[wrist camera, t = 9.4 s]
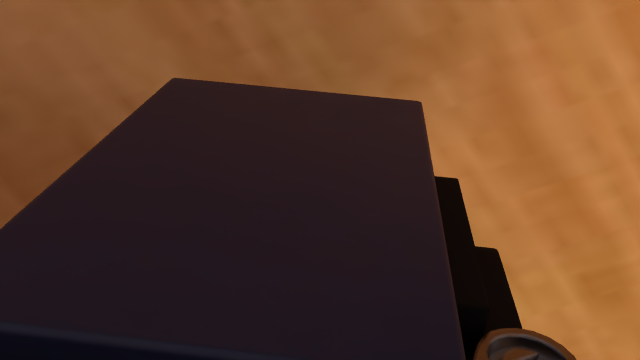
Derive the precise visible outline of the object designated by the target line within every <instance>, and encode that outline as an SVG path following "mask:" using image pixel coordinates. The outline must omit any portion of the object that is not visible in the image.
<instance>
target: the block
mask: <svg viewBox="0 0 640 360" xmlns="http://www.w3.org/2000/svg"><path fill="white" fill-rule="evenodd" d="M0 360H466V358H465V352H464V346H463V341H462V335H461V329H460V323H459V317H458V311H457V306H456V300H455V294H454V288H453V282H452V277H451V271H450V265H449V259H448V253H447V247H446V242H445V236H444V230H443V224H442V218H441V212H440V207H439V201H438V195H437V189H436V183H435V177H434V172H433V166H432V160H431V154H430V148H429V142H428V137H427V131H426V125H425V119H424V113H423V107H422V103H421V102H419V101H412V100H401V99H391V98H380V97H370V96H360V95H349V94H339V93H328V92H318V91H307V90H297V89H286V88H276V87H265V86H255V85H245V84H234V83H224V82H213V81H203V80H192V79H182V78H173V79H171V80H170V81H169V82H167V83H166V84H165V85H164V86H163V87H162V88H161V89H159V90H158V91H157V92H156V93H155V94H154V95H153V96H151V97H150V98H149V99H148V100H147V101H146V102H145V103H144V104H142V105H141V106H140V107H139V108H138V109H137V110H136V111H134V112H133V113H132V114H131V115H130V116H129V117H128V118H126V119H125V120H124V121H123V122H122V123H121V124H120V125H118V126H117V127H116V128H115V129H114V130H113V131H112V132H110V133H109V134H108V135H107V136H106V137H105V138H104V139H102V140H101V141H100V142H99V143H98V144H97V145H96V146H94V147H93V148H92V149H91V150H90V151H89V152H88V153H86V154H85V155H84V156H83V157H82V158H81V159H80V160H78V161H77V162H76V163H75V164H74V165H73V166H72V167H70V168H69V169H68V170H67V171H66V172H65V173H64V174H62V175H61V176H60V177H59V178H58V179H57V180H56V181H54V182H53V183H52V184H51V185H50V186H49V187H48V188H46V189H45V190H44V191H43V192H42V193H41V194H40V195H38V196H37V197H36V198H35V199H34V200H33V201H32V202H30V203H29V204H28V205H27V206H26V207H25V208H24V209H22V210H21V211H20V212H19V213H18V214H17V215H16V216H14V217H13V218H12V219H11V220H10V221H9V222H8V223H6V224H5V225H4V226H3V227H2V228H1V229H0Z"/></svg>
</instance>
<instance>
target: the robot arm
mask: <svg viewBox="0 0 640 360" xmlns="http://www.w3.org/2000/svg"><path fill="white" fill-rule="evenodd" d="M434 177H435V183H436V189H437V195H438V201H439V207H440V212H441V218H442V224H443V230H444V236H445V242H446V247H447V253H448V259H449V265H450V271H451V277H452V282H453V288H454V294H455V300H456V306H457V311H458V317H459V323H460V329H461V335H462V341H463V346H464V352H465V358H466V360H576V358H575V357H574V355H572V354H571V353H570V352H569V351H568V350H567V349H566V348H565V347H564V346H562V345H561V344H559V343H557V342H556V341H554V340H552V339H551V338H549V337H547V336H544V335H542V334H539V333H537V332H534V331H530V330H525V329H522V326H521V323H520V320H519V316H518V313H517V310H516V307H515V304H514V300H513V297H512V294H511V291H510V288H509V284H508V281H507V278H506V275H505V271H504V268H503V265H502V262H501V259H500V255H499V253H498V251H497V249H494V248H486V247H476V246H475V245H474V241H473V237H472V233H471V229H470V225H469V221H468V217H467V213H466V209H465V205H464V201H463V197H462V193H461V189H460V185H459V181H458V179H456V178H447V177H437V176H434Z"/></svg>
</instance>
